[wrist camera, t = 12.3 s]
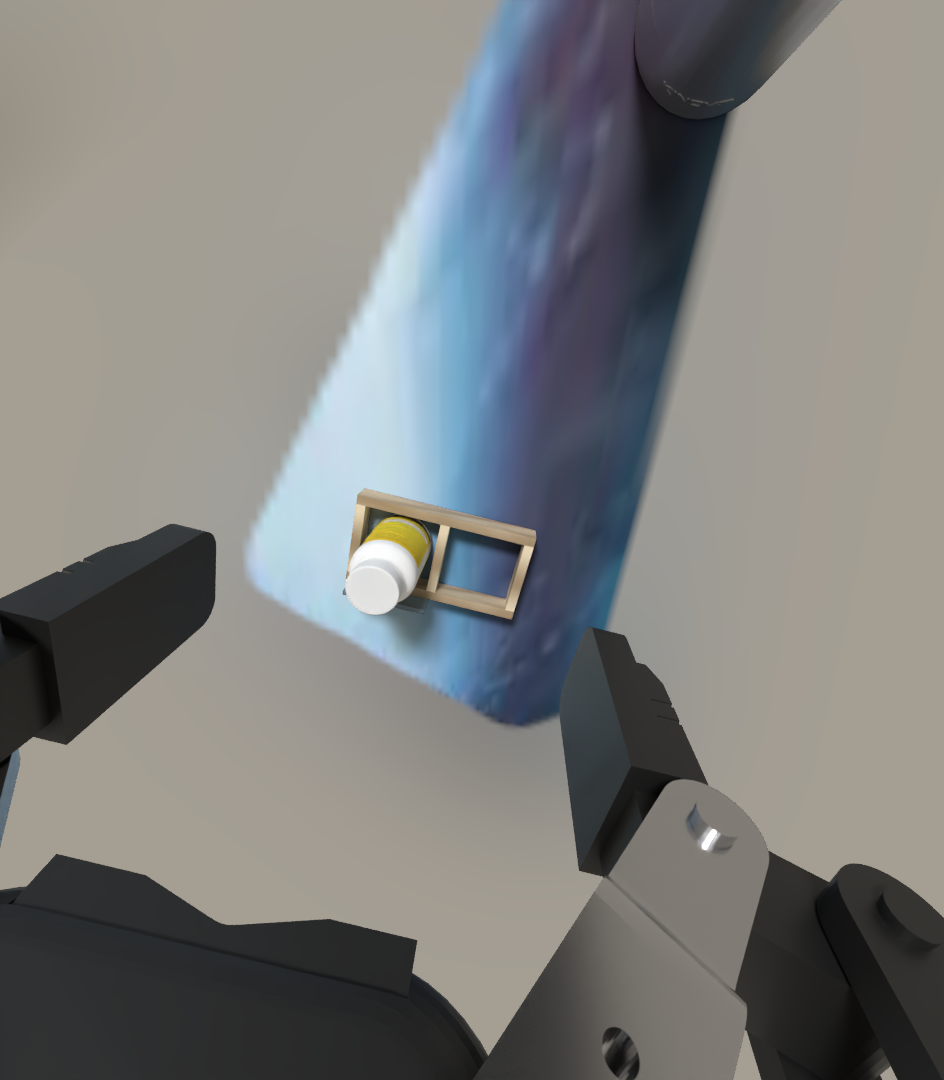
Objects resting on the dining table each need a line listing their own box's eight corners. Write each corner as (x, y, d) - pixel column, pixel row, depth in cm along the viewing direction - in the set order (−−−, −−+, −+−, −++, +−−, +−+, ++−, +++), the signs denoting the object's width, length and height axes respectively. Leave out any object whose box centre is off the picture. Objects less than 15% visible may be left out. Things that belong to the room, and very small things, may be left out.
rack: (364, 488, 41) (349, 502, 37) (535, 530, 41) (537, 548, 37) (352, 573, 44) (337, 593, 40) (510, 611, 44) (510, 635, 40)
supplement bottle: (374, 508, 41) (335, 551, 32) (435, 516, 41) (412, 562, 32) (372, 562, 43) (335, 618, 34) (430, 571, 43) (407, 628, 34)
